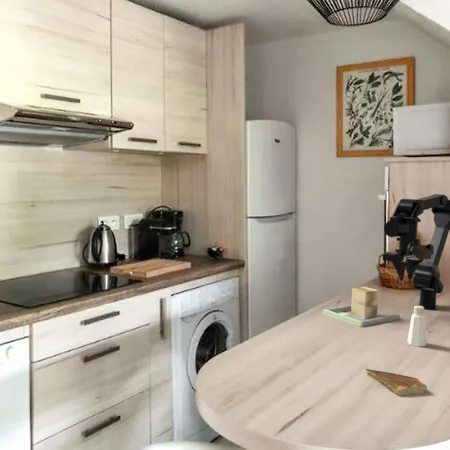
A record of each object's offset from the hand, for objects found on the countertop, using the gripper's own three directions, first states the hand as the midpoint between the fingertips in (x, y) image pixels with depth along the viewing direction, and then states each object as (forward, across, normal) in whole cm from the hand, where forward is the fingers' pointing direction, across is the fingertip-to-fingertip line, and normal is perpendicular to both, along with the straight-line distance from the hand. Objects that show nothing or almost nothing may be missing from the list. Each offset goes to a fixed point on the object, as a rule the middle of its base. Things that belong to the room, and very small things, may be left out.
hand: (405, 279), depth 186 cm
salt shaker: (+12, -23, -24) cm, 35 cm away
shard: (+13, -54, -41) cm, 69 cm away
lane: (+12, -19, +2) cm, 22 cm away
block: (+11, -18, +2) cm, 21 cm away
